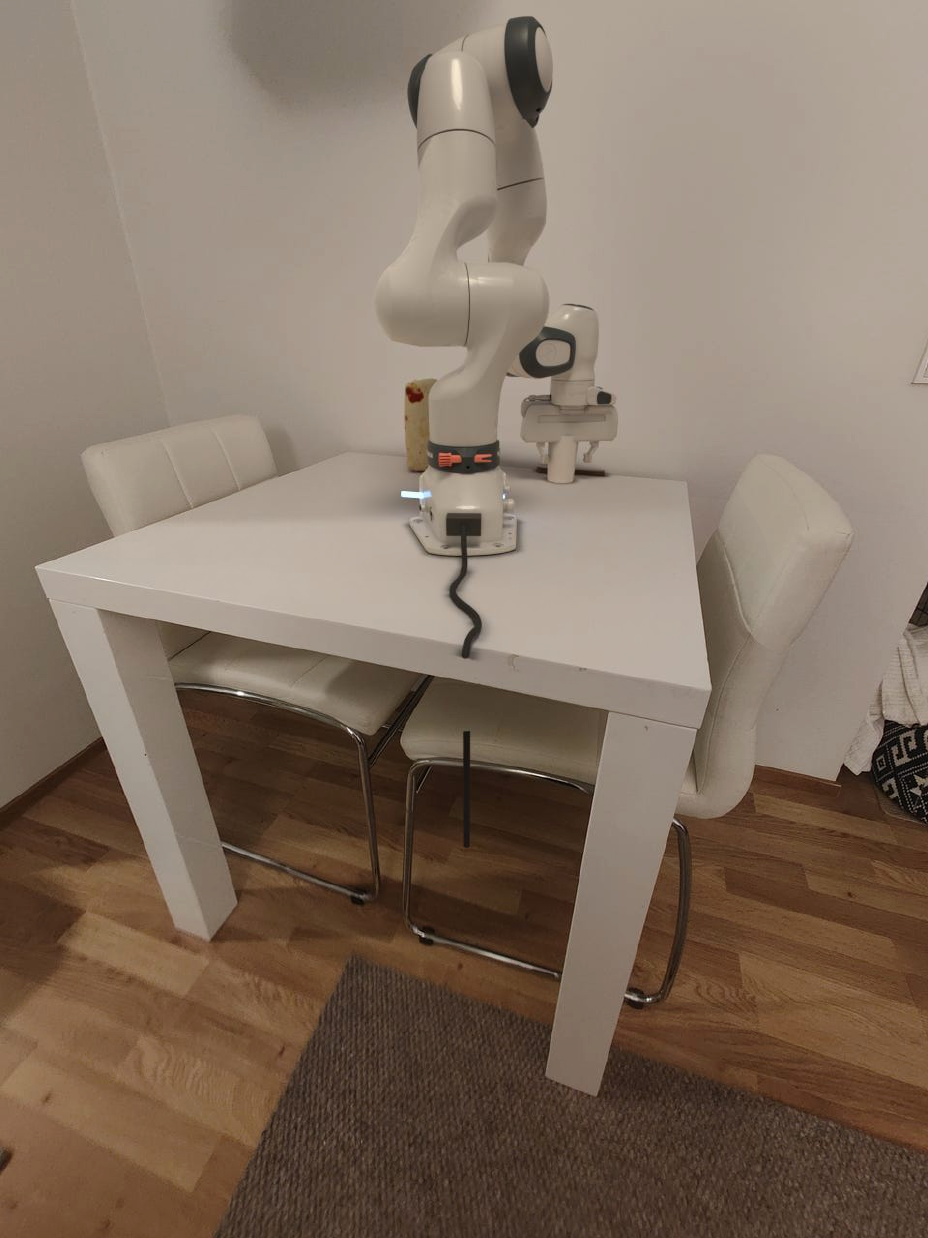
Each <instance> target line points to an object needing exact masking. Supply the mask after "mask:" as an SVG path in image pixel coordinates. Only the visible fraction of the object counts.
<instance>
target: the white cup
mask: <svg viewBox="0 0 928 1238" xmlns="http://www.w3.org/2000/svg"><path fill="white" fill-rule="evenodd" d="M573 438H574V436H561V440H560V442H547V443H548V444H547V454H548V455H549V459H548V460H549V463H547V464H548V473H547V481H548V482H551V483H556V484H569V483H573V482H574V479H575V474H574V473H575V468H576V465H577V459H578V458H577V457H578V450H579V443H580V442H575V441H574V439H573Z"/></svg>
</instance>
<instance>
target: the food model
mask: <svg viewBox="0 0 928 1238" xmlns="http://www.w3.org/2000/svg"><path fill="white" fill-rule="evenodd" d="M438 380H439V379H437V378H423V379H419V380H417V379H414V380H412V381H410V382H407V383H406V384H405V386H404V436H405V437H404V439H405V441H404V442H405V450H406V464H407V468H408V469H409V470H410V471H414V472H422V471H423V472H425V471H426V469H427V468H428V466H429V464H428V462H427V442H428V440H429V439H430V434H429V399H428V397H429V393H430V390H431V388H432V386H433V385H434V384H435V382H436V381H438Z"/></svg>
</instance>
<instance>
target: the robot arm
mask: <svg viewBox="0 0 928 1238" xmlns="http://www.w3.org/2000/svg"><path fill="white" fill-rule="evenodd" d="M553 65H554V61H553V54H552V49H551V46H550V42H549V39H548V37H547V33H546V31H545V28H544V27H543V25H542V24H541V23H540V22H539V21H538V19H536V18H535V17H534V16H533V15H532V16H531V15H524V16H523V15H522V16H516V17H511V18H509V19H508V20H507V22H506V23H500V24H498V25H494V26H491V27H487V28H484V29H481V30H479V31H477V32H474V33H472V34H470V33H468V34H465V35H464V36H462V37H460V38H457V39H455V40H454V41H452V42H451V43H449V44H447V45H445V46H443V48H441V49H439V50H438V51H436V52H435V53H429V54H428V53H427V55H425V56H424V57H423V58H421V59H420V61H418V62H417V63H416V64H415V65H414V66H413V68H412V69H411V72H410V75H409V79H408V83H407V92H406V94H407V95H406V96H407V103H408V110H409V112H410V116H411V119H412V120H411V121H412V122H413V125H414V127H415V129H416V154H417V157H416V158H417V171H418V172H417V173H418V175H417V176H418V200H417V201H418V204H417V205H418V206H417V216H416V222H415V226H414V230H413V233H412V235H411V238H410V239H409V242H408V244H407V245H406V246H405V248H404V250H403V252H402V253H401V254H400V255H399V256H398V258H397V259H396V260H395V261H394V262H393V263H391V264H390V265H389V266H387V268H386V269H385V270H383V272H382V274H381V275H380V277H379V279H378V282H377V283H376V287H375V292H374V300H373V301H374V312H375V316H376V319H377V322H378V325H379V326H380V328H381V330H382V331H383V333H384V334H385V335H386V336H387V338H388V339H389V340H390V341H391V342H395V343H400V344H405V345H409V346H415V347H421V348H429V347H430V348H431V347H433V348H434V347H435V348H437V347H438V348H439V347H449V348H450V347H454V348H455V347H463V348H466V355H465V358H464V359H463V362H462V364H461V365H460V366H459V367H457V368H455V369H453V370H451V371H450V372H448V373H446V374H444V375H443V376H442V377H440V378H438V379H437V380H438V381H436V382H435V384H434V385H433V386H432V388H431V390H430V393H429V397H428V399H429V434H430V439H429V440H428V442H427V462H428V464H429V466H428V468H427V469H426V470H425V471H423V472H422V473H421V475H419V478H418V479H419V480H418V481H419V492H418V491H417V492H416V491H404V490H403V491H401V497H403V498H415V499H419V507H418V509H419V515H416V516H413V517H410V518H409V523H408V525H409V527H410V528H411V530H412V532H413V533H414V534H415V536H416V538H417V539H418V540H419V542H420V543H421V545H422V546H423V549H424V550H425V551H426V553H429V554H433V555H440V556H453V557H454V556H455V557H456V556H457V557H458V556H459V557H461V569H460V573H459V575H458V576H457V578H456V579H454V580H453V581H452V583H451V584H450V585H449V594H450V597H451V600H453V601H454V602H455V603H456V604H457V605H458V606H459V607H461V609H463V610H464V611H465V612H467V613H468V614H469V616H471V618H472V619H473V621H474V626H473V627H472V628H471V629H470V630H469V631H468V633H467V634H466V636H465V637H464V641H463V644H462V650H461V658H462V659H464V660H465V659H466V660H467V659H468V658H470V653H471V652H470V651H471V645H472V642H473V639H475V636H477V635H478V633H479V632H480V631H481V629H482V628H483V623H482V622H483V621H482V618H481V616H480V614H479V613H478V611H476V610H475V609H474V608H473V607H472V606H470V604H468V603H467V602H466V601H464V600H463V599H462V598H461V597H460V596H459V595H458V593H457V587H458V586H459V585H460V584H461V583H462V581H463V579H465V577H466V574H467V570H468V565H469V563H468V556H469V557H470V556H472V557H473V556H487V555H497V554H504V553H509V552H511V551H514V550H516V547H517V531H518V516H517V515H516V514H513V513H515V512H514V511H515V499H514V498H506V495H511V485H506V484H507V474H506V472H504V470H502V468H500V466H499V465H501V448H500V440H499V439H498V426H499V425H498V423H499V409H500V399H501V393H502V388H503V384H504V382H505V379H506V377H508V378H509V377H510V378H524V379H533V380H542V379H545V378H546V379H547V378H550V387H549V394H540V395H539V394H538V395H536V394H530V395H528V397H525V398H524V399H523V400H522V401H521V404H520V415H521V416H522V418H521V425H520V432H519V436H520V438H521V439H522V440H523V442H524V443H530V444H531V443H532V444H533V443H534V444H535V446H536V448H537V450H538V452H539V454H540V461H539V462H540V464H548V463H549V460H548V459H549V455H548V453H545V451H544V449H543V448H545V447H546V443H548V442H560V440H561V436H574V438H573V439H574V441H575V442H579V443H581V442H583V443H584V442H589V445H590V447H589V449H588V451H587V452H583V457H582V462H583V463H585V464H586V463H587V464H588V463H591V464H592V462H593V455H594V454H595V452H596V451H597V450H598V448H599V446H600V444H599V443H600V442H613V441H614V440H615V439H616V437H617V435H618V426H619V425H618V424H619V422H618V421H619V418H618V417H619V416H618V410H617V408H616V406H614V405H616V402H617V394H615V393H613V392H612V391H610V390H608V389H607V390H606V389H604V388H603V387H601V386H596V385H595V383H596V382H595V381H596V374H595V364H596V360H597V358H598V353H599V352H598V351H599V340H600V324H599V323H600V322H599V316H598V313H597V311H596V310H595V309H593V308H592V307H590V306H586V305H582V304H575V303H563V304H561V305H559V307H558V308H557V309H556V310H555V311H553V312H552V313H551V314H549V313H550V292H549V288H548V284H547V283H546V281H545V279H544V277H543V275H542V274H541V273H540V271H539V270H538V269H535V268H532V267H529V266H526V265H525V262H526V259H527V258H528V255H529V253H530V251H531V250H532V249H533V247H534V246H535V245H536V243H537V242H538V241H539V239H540V237H541V236H542V234H543V232H544V229H545V227H546V224H547V215H548V213H547V212H548V211H547V210H548V197H547V188H546V187H547V186H546V181H545V171H544V170H545V169H544V164H543V159H542V152H541V148H540V143H539V138H538V135H537V130H536V126H537V125H538V123H539V120H540V114H541V113H542V112H543V111H544V110H545V109H546V106H547V104H548V101H549V99H550V96H551V93H552V89H553V75H554V74H553V73H554V66H553ZM484 232H485V236H486V245H487V246H486V247H487V261H464V260H461V259H459V258H458V254H457V251H458V250H459V249H460V248H461V247H463V246H464V245H466V244H467V243H469V242H471V241H472V240H475V239H476V238H478V237H479V236H481V235H482V234H483V233H484ZM524 265H525V266H524ZM462 768H463V769H462V775H463V776H462V788H463V789H462V795H463V797H462V799H463V800H462V801H463V802H462V804H463V805H462V807H463V808H462V812H463V813H462V820H463V821H462V822H463V823H462V824H463V827H462V832H463V833H462V835H463V837H462V838H463V840H462V842H463V843H462V845H463V847H464V848H465V849H468V848H470V846H471V730H464V731H462Z"/></svg>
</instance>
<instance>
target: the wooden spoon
mask: <svg viewBox="0 0 928 1238" xmlns="http://www.w3.org/2000/svg"><path fill="white" fill-rule="evenodd" d="M536 472H537V473H540V474H548V463H547V464H542V463H539V464H537V465H536ZM574 475H586V476H598V477H605V475H606V470H605V469H596V468H583V467H582V468H581V467H579V468H578V467H575V473H574Z"/></svg>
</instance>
